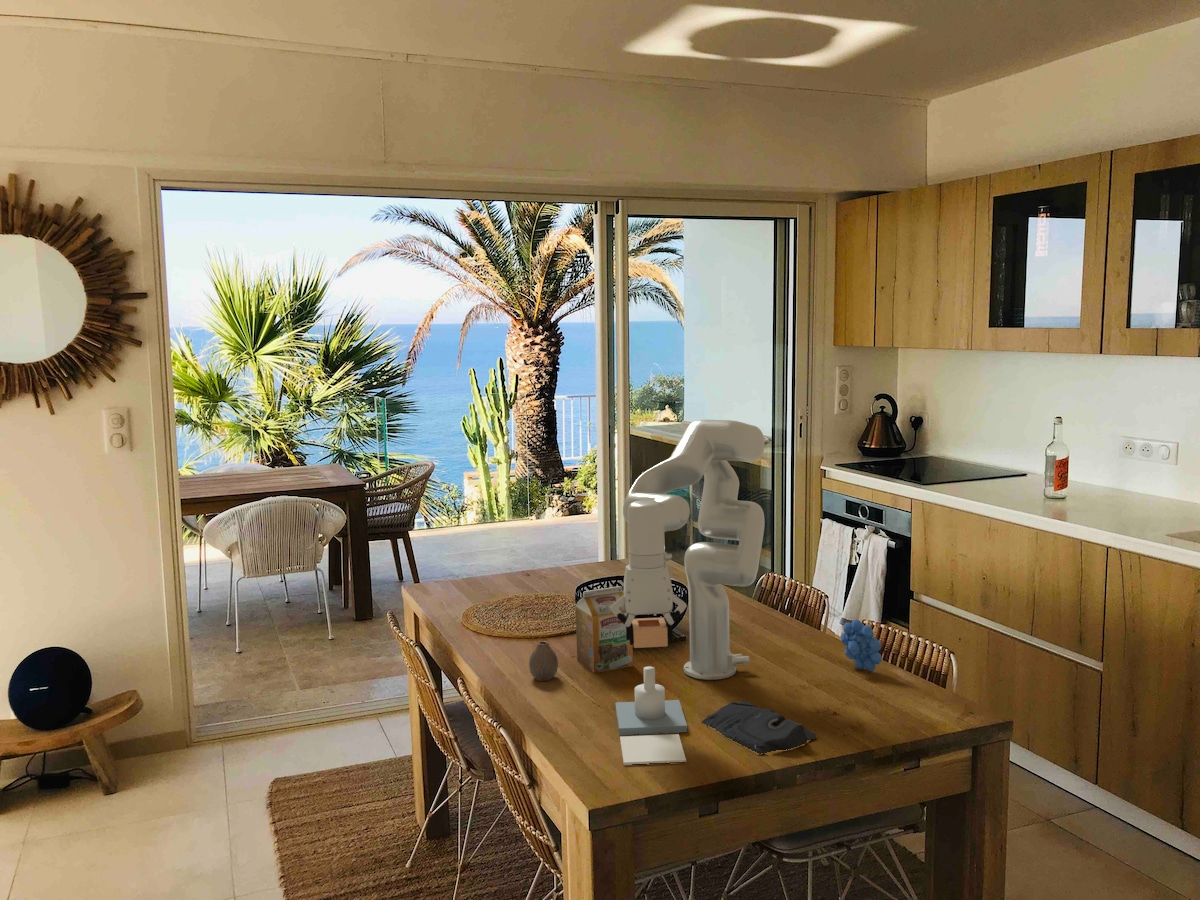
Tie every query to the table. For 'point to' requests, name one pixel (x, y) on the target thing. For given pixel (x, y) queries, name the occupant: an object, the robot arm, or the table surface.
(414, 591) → the table surface
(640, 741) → the white mat
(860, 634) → the grapes
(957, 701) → the table surface
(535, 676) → the vase
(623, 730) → the post stand
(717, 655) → the robot arm
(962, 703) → the table surface
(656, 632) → the copper link
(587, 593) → the milk carton
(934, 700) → the table surface
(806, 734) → the dark pouch with grommet
